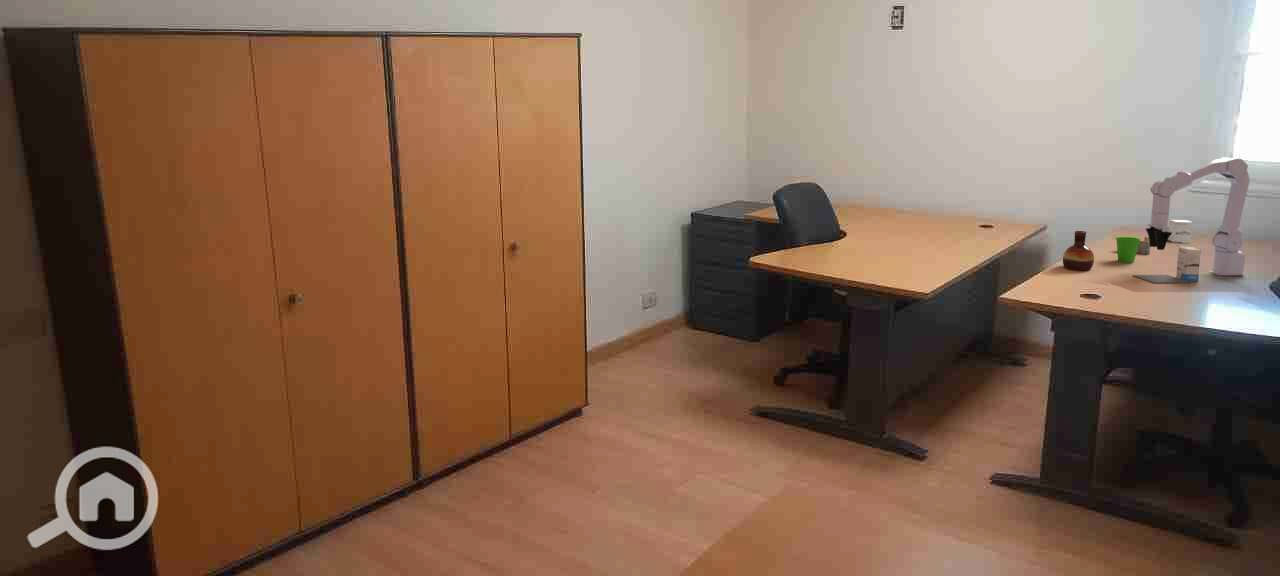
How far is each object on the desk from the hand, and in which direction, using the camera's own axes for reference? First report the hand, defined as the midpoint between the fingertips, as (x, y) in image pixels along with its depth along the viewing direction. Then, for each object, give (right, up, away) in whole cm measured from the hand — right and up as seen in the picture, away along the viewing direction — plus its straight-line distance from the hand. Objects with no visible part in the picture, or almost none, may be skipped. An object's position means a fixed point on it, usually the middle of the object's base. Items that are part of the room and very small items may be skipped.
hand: (1156, 248), depth 347 cm
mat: (-5, -12, -11) cm, 17 cm away
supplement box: (+44, +2, +61) cm, 76 cm away
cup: (-1, -6, +21) cm, 22 cm away
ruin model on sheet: (+12, -3, +38) cm, 40 cm away
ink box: (+5, -12, -11) cm, 17 cm away
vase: (-26, -9, +9) cm, 29 cm away
